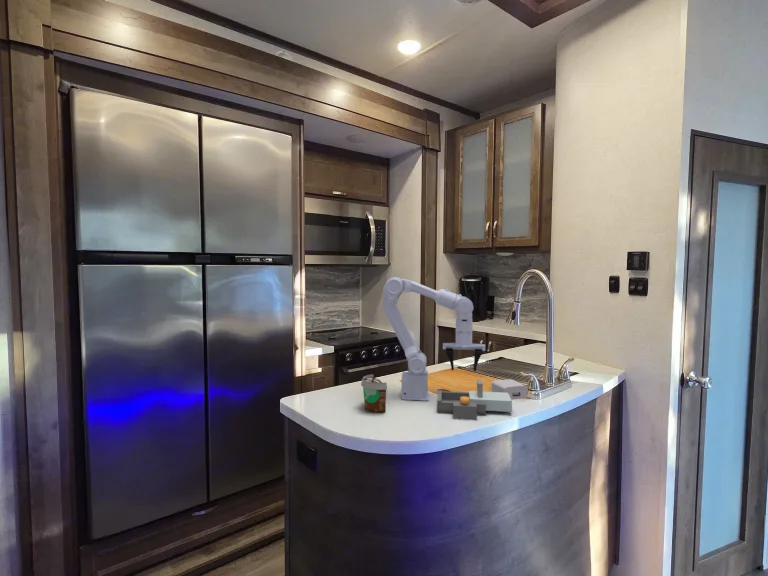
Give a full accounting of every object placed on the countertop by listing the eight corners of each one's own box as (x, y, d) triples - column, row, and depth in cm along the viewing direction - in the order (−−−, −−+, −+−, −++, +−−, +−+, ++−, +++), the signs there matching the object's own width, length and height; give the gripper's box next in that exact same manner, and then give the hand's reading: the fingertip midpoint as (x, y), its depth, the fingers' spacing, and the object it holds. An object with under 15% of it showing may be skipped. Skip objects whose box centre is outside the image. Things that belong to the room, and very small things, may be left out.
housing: (436, 417, 121) (436, 404, 120) (438, 400, 136) (438, 389, 136) (487, 420, 118) (487, 407, 118) (482, 403, 134) (482, 391, 134)
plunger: (460, 404, 120) (460, 398, 120) (460, 401, 123) (460, 396, 122) (469, 404, 119) (469, 399, 119) (469, 401, 122) (469, 396, 122)
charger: (504, 386, 154) (527, 398, 139) (483, 388, 152) (504, 400, 137) (504, 374, 154) (527, 385, 139) (483, 376, 151) (504, 387, 137)
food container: (355, 404, 133) (355, 375, 132) (372, 402, 135) (372, 373, 135) (369, 417, 121) (368, 385, 121) (387, 414, 124) (387, 382, 123)
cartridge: (469, 409, 124) (470, 384, 124) (468, 400, 133) (468, 377, 133) (511, 411, 122) (512, 386, 122) (507, 402, 131) (508, 379, 130)
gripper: (442, 332, 135) (442, 371, 135) (486, 334, 132) (485, 373, 133) (443, 329, 142) (443, 367, 142) (484, 331, 139) (484, 368, 140)
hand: (463, 370), depth 138 cm, fingers open, 7 cm apart
